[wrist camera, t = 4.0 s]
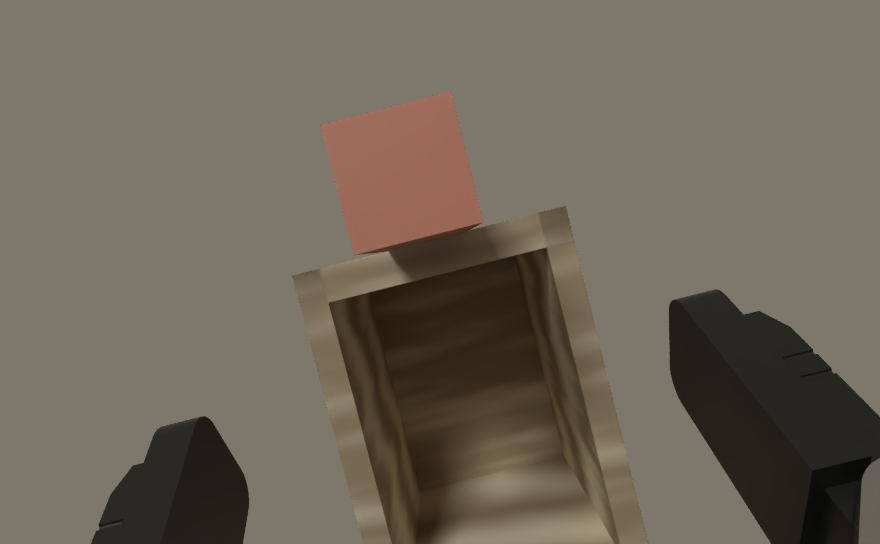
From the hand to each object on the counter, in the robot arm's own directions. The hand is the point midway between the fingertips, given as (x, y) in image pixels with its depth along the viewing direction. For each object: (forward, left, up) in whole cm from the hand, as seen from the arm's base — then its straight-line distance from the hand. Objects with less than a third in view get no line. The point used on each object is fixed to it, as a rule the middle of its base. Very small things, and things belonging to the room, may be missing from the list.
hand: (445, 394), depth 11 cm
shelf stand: (-11, +20, -29) cm, 37 cm away
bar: (-9, +16, +3) cm, 19 cm away
